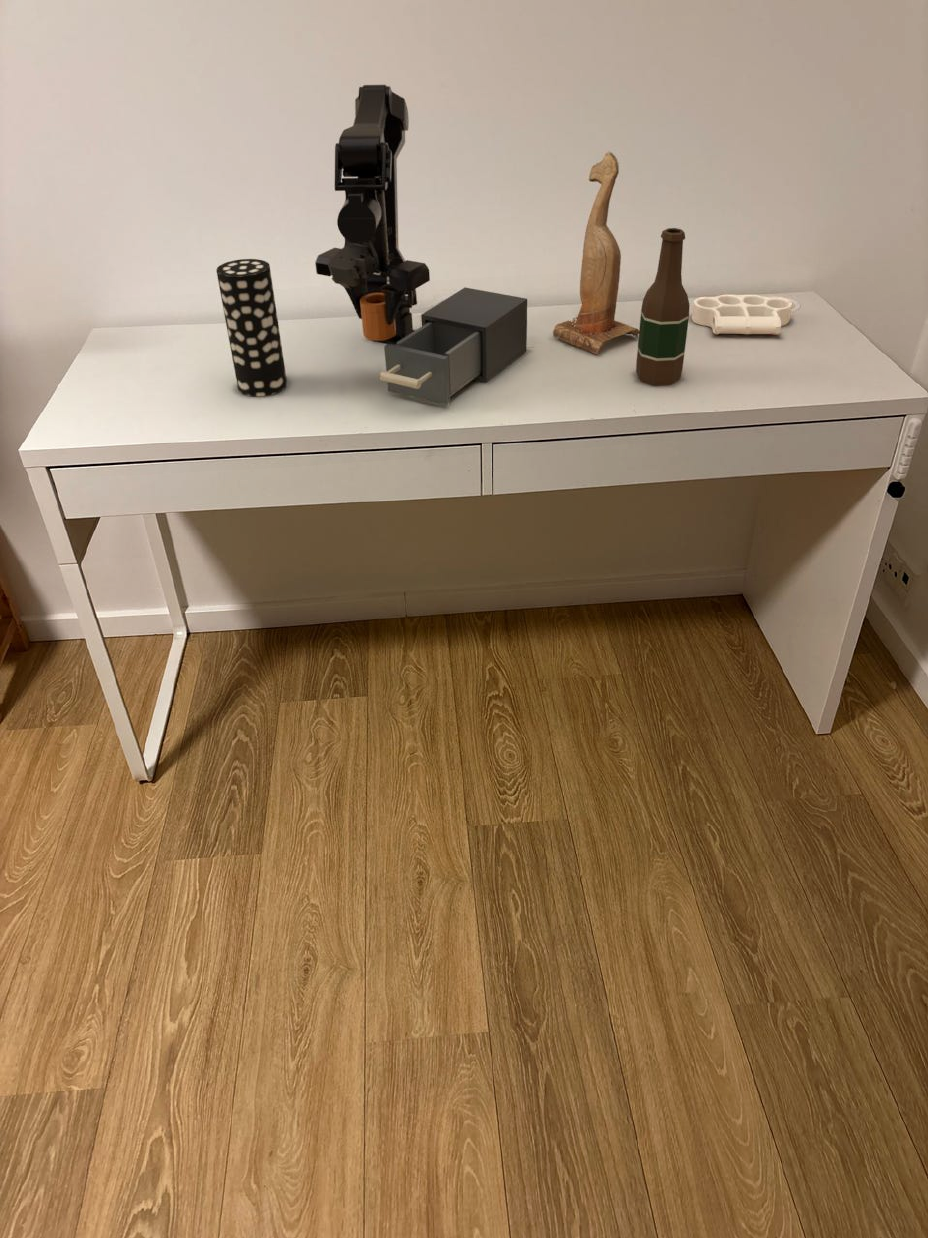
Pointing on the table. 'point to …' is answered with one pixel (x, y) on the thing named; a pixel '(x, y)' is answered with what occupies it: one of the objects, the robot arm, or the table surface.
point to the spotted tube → (252, 326)
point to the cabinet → (487, 324)
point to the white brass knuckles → (742, 314)
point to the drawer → (433, 362)
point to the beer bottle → (664, 317)
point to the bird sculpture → (598, 272)
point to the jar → (375, 318)
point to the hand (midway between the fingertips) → (375, 320)
